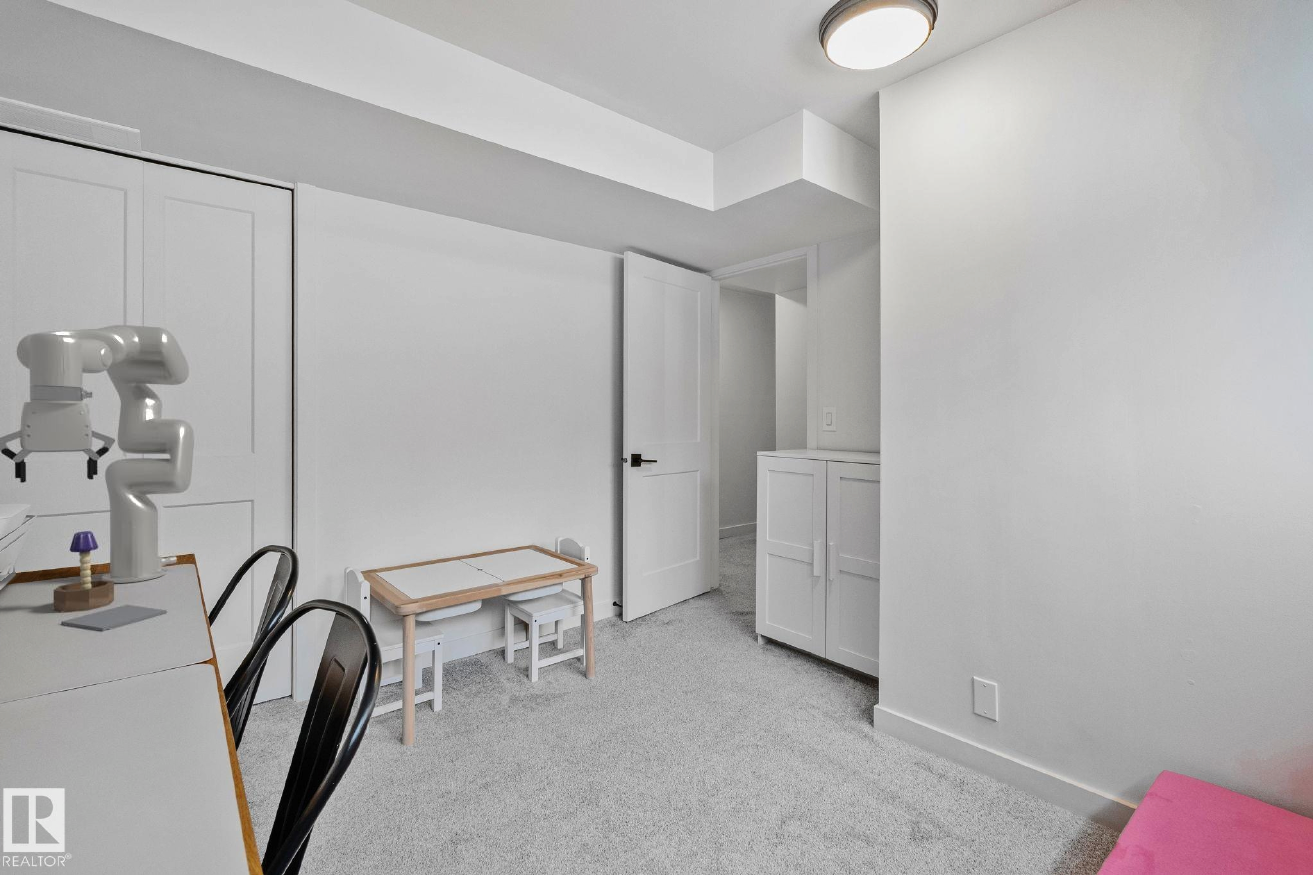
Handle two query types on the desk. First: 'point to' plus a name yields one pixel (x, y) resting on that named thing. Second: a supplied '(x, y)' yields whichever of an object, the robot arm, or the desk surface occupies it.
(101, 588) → the holder ring
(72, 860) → the desk surface
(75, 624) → the mat
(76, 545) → the toy lamp
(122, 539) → the robot arm
